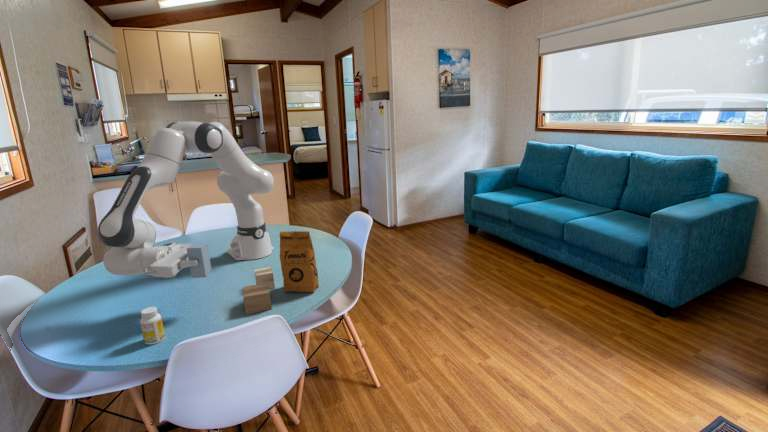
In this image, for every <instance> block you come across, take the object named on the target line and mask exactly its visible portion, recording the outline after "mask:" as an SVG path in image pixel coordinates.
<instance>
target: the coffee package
mask: <svg viewBox="0 0 768 432" xmlns="http://www.w3.org/2000/svg"><path fill="white" fill-rule="evenodd" d="M279 261H280V267H281V275H282V278H283V291H284V292H290V293H291V292H292V293H293V292H298V293H315V291H316V289H317V288H318V287H319V286H320V284H319V273H318V267H317V262H316V256H315V248H314V246H313V242H312V236H311V233H310V231H309V230H307V231H306V230H303V231H302V230H298V231H297V230H293V231H292V230H290V231H287V230H286V231H279Z"/></svg>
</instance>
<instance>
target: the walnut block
mask: <svg viewBox="0 0 768 432" xmlns="http://www.w3.org/2000/svg"><path fill="white" fill-rule="evenodd" d="M270 292H271V291H270V289H269V283H264V284H258V285H256V284H253V285H247V286H243V294H242V295H243V303H244V311H245V314H246V315H248V314H253V313H258V312H264V311H270V310H272V309H273V308H272V301H271V300H272V299H271V293H270Z"/></svg>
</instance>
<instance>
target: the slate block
mask: <svg viewBox="0 0 768 432" xmlns="http://www.w3.org/2000/svg"><path fill="white" fill-rule="evenodd" d="M191 244H192V245H191V246H189V247H188V248H187V254H188V259H189V260H192V259H198V260H199V264H198V265H197V266H190V267H189V269H190V274H191V278H192V279H193V278H194V279H201V278H202V279H203V278H207V277H208V276H209V275H210V274H211V273H213V272H212V264H211V258H210V254H209V247H208V243H207V242H204V243H203V242H201V243H200V242H199V243H198V242H197V243H191Z"/></svg>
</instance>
